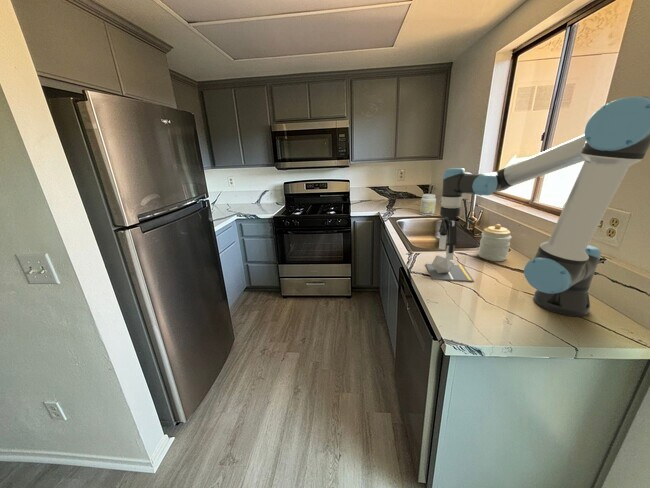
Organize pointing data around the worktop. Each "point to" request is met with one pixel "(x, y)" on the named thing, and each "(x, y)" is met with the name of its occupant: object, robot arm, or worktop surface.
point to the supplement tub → (428, 204)
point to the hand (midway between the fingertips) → (445, 254)
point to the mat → (451, 274)
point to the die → (442, 264)
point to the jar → (494, 243)
